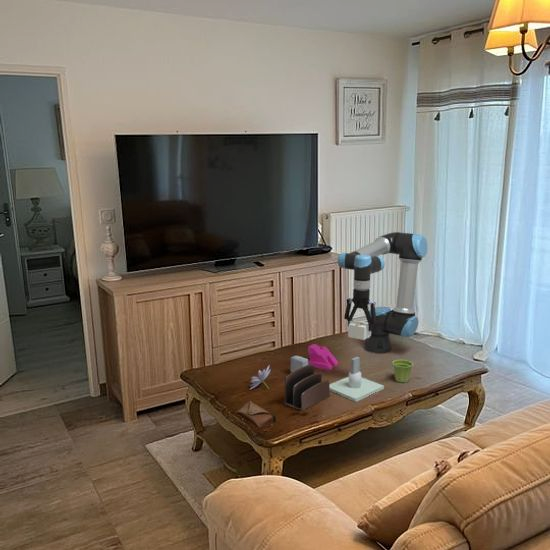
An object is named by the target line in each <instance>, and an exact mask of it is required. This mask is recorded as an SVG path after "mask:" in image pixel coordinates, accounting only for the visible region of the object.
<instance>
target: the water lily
mask: <svg viewBox="0 0 550 550" xmlns="http://www.w3.org/2000/svg"><path fill="white" fill-rule="evenodd" d="M270 373H271V368H270V364H269V365H268V366H267V367H266V369H263V370H258V373H257V375H258V376H252V377H251V380H250V383H252V384H249V387H250V388H249V389H248V391H251V390H252V389H254V388H256V387H258V386H259V385H260V384H261V383H263V384H264V386H265V387H266V389H267V390H269V389H270V387H269V386H268V385H267V383H266V382H265V379H266V378H268V376H269V375H270Z"/></svg>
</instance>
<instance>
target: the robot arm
mask: <svg viewBox="0 0 550 550" xmlns="http://www.w3.org/2000/svg"><path fill="white" fill-rule="evenodd" d="M427 253H428V241H427V239H426V237H425V236H424V235H422V234H418V233H410V232H400V231H398V232H397V231H394V232H389V233H385V234H384V235H380V236H378V237H377V238H375V239H374V241H373V242H370V243H368V244H366V245H364V246H362V247H360V248H358V249H355V250H353V251H352V252H350V253H349V252H342V253H340V254H338V257H337V266H338V267H339V268H342V269H345V270H350V271H351V270H353V285H352V287H353V289H352V290H353V291H352V298H350V297H349V298H347V299H346V307H345V311H344V317H343V318H344V320H347V327H348V326H349V324H350V323H352V322H354V321H355V320H353V318H354V316H355V314H356V312H357V310H358V309H361V310H362V311H363V312H364V315H365V318H366V320H367V321H366V322H367V323H368V324H367V332H366V339H365V340H364V344H363V345H364V346H363V349H364V348H365V349H364V350H366V351H367V352H370V353H373V352H375V353H374V354H386V352H387V353H390V352H392V351H393V344H392V341H391V337H390V334H391V335H396V336H400V337H402V338H403V337H404V338H405V337H406V338H411V337H413V336H414V335H415V334H416V331H417V330H418V326H419V323H420V322H419V318H418V316H416V311H415V310H414V301H415V300H414V299H415V293H416V292H415V291H416V285H417V284H416V283H417V277H418V268H419V266H418V265H419V264H420V262H422V261H423V260H422V259H423V258H425V257H426V255H427ZM387 254H391V255H392V254H394V255H398V260H399V261H400V268H399V269H400V271H399V280H398V289H397V297H396V304H395V305H396V306H395V307H394V308H393V309H392V311H391V307H389V306H376V305H377V304H376V302H375V301H374V302H373V301H371V300H370V294H371V293H370V292H371V290H370V288H371V275H372V274H375V273H379V272H382V270H383V269H384V268H385V266H386V264H385V263H386V262H385V260H384V258H383V257H382V256H381V255H387ZM352 303H353V306H352ZM368 305H369V306H368ZM351 307H352V310H351ZM369 307H370V308H369ZM370 331H371V336H370ZM391 350H392V351H391Z"/></svg>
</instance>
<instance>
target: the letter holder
mask: <svg viewBox="0 0 550 550" xmlns="http://www.w3.org/2000/svg"><path fill="white" fill-rule="evenodd" d="M322 377H323V375H322V372H317V373H316V372H315V367H314V365H313V364H311V365H307V366H304V367H302V368H300V369H298V370H296V371H294V372H292V373H291V372H290V373H289V374H287V375H286V376H285V377H284V401H283V402H284V403H283V404H284V405H285V406H287V405H288V406H287V407H290V408H292V407H293V409H294V410H297V409H298V411H300V412H304V411H305V410H307V409H308V407H309V408H311V407H312V406H314V405H315V404H317V403H319V402H321V401H323V400H325V399H326V397H327V398H328V397H330V396H331V395H330V394H331V391H330V386H329V385H330V380H328V379H327V380H323V381H322ZM306 408H307V409H306Z"/></svg>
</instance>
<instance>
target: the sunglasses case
mask: <svg viewBox="0 0 550 550" xmlns="http://www.w3.org/2000/svg"><path fill="white" fill-rule="evenodd" d="M236 414H239V415H240V416H243V417H244V418H245V419H247V420H249V422H251V423H253V424H255V426H257V427H258V428H262V427H264V426H263V425H265V426H267V425H266V424H268V425H270V424H269V423H271V424H272V423H276V420H277V419H276V416H275V415H274V414H272V413H270V412H269V411H267V410H266V409H264V408H263V407H261V406H259V405H258V404H256V403H254V402H253V401H251V400H250V399H249V400H248V402H246V403H245V404H244V405H242V407H240V408H239V409H238V410H237V411H236ZM261 426H262V427H261Z"/></svg>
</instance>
